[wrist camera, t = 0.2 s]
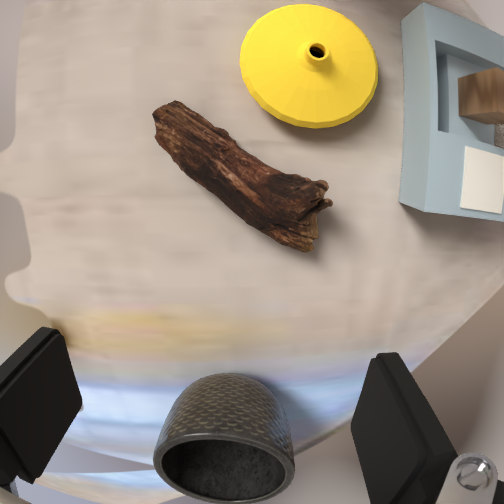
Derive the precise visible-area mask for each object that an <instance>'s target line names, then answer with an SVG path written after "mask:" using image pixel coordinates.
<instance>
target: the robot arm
mask: <svg viewBox="0 0 504 504" xmlns="http://www.w3.org/2000/svg"><path fill="white" fill-rule="evenodd" d="M81 406H82V397H81V394H80V391H79V388H78V385H77V381H76V378H75V375H74V372H73V368H72V365H71V362H70V358H69V354H68V351H67V347H66V343H65V339H64V337H63V336H62V335H61V334H60V332H59V331H58V330H57V329H52V328H47V327H41V328H40V329H39V330H37V331H36V332H35V333H34V334H33V335H32V336H31V337H30V338H29V339H28V340H27V341H26V342H25V343H23V345H21V347H19V348H18V349H17V350H16V351H15V352H14V353H13V354H12V355H11V356H10V357H9V358H8V359H7V360H6V361H5V362H4V363H3V364H2V365H1V366H0V504H31V503H29V502H27V501H25V500H23V499H21V498H19V496H18V492H17V487H16V483H15V477H16V476H17V475H18V477H19V478H20V479H22V480H24V481H26V482H28V483H30V484H33V483H34V481H35V479H36V478H39V477H40V476H41V475H42V473H43V471H44V469H45V468H46V466H47V464H48V462H49V461H50V459H51V457H52V455H53V454H54V452H55V450H56V449H57V447H58V445H59V443H60V442H61V440H62V438H63V437H64V435H65V433H66V432H67V430H68V428H69V427H70V425H71V423H72V422H73V420H74V418H75V417H76V415H77V413H78V412H79V410H80V409H81ZM351 432H352V436H353V440H354V443H355V447H356V450H357V454H358V457H359V461H360V465H361V468H362V472H363V476H364V479H365V483H366V487H367V490H368V495H369V498H370V503H371V504H504V482H502V481H500V480H498V479H497V478H498V472H497V469H496V466H495V465H494V463H493V462H492V461H491V460H490V459H489V458H487V457H486V456H484V455H482V454H479V453H465V454H463V455H460V456H458V455H457V453H456V451H455V449H454V447H453V446H452V444H451V442H450V440H449V438H448V436H447V435H446V433H445V431H444V429H443V427H442V426H441V424H440V422H439V420H438V419H437V417H436V415H435V413H434V411H433V410H432V408H431V406H430V405H429V403H428V401H427V399H426V398H425V396H424V395H423V393H422V392H421V390H420V388H419V387H418V385H417V383H416V382H415V380H414V378H413V377H412V375H411V373H410V372H409V370H408V368H407V367H406V365H405V364H404V362H403V360H402V359H401V357H400V356H399V354H398V353H396V352H392V353H379V354H377V356H376V358H372V359H371V361H370V364H369V367H368V371H367V374H366V378H365V381H364V384H363V388H362V391H361V394H360V397H359V400H358V403H357V406H356V409H355V412H354V415H353V418H352V422H351Z"/></svg>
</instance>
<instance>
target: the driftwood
mask: <svg viewBox="0 0 504 504" xmlns="http://www.w3.org/2000/svg"><path fill="white" fill-rule="evenodd" d="M152 115H153V118H154V120H155V126H156V135H155V139H156V140H157V142H158V144H159V145H160V146H161V147H162V148H163V149H164V150H165V151H167V152H168V153H169V154H170V155H171V157H172V159H173V161H174V162H175V163H177V164H178V166H179V167H180V169H181V170H182V171H184V172H185V173H186V175H187V176H189V177H190V178H192V179H193V180H194V181H196V182H197V183H199V184H200V185H202V186H203V187H205V188H206V189H207V190H208V191H210V192H212V193H213V194H215V195H216V196H217V197H218V198H219V199H220V200H222V201H223V202H224V203H225V204H226V205H227V206H228V207H229V208H230V209H231V210H232V211H233V212H234V213H236V214H237V215H238V216H239V217H241V218H242V219H243V220H244V221H245V222H246V223H247V224H249V225H251V226H253V227H254V228H256V229H258V230H259V231H261V232H263V233H264V234H266V235H268V236H270V237H271V238H273V239H274V240H276V241H277V242H279V243H280V244H283V245H286V246H290V247H293V248H295V249H298V250H300V251H302V252H308V251H312V250H313V245H312V242H313V240H314V239H317V238H318V224H317V217H316V213H319V212H320V211H321V210H322V209H325V208H327V207H330V206H332V205H333V201H332V200H331V199H323V198H324V194H325V192H326V191H327V190H328V188H329V186H328V183H327V182H326V181H324V180H319V181H311V180H310V179H309V178H304V177H301V176H300V175H297V174H285V173H282V172H280V171H279V170H276V169H274V168H272V167H270V166H268V165H266V164H264V163H263V162H262V161H260V160H259V159H257V158H256V157H255V156H253V155H251V154H249V153H247V152H246V151H244V150H243V149H241V148H240V147H239V146H238V145H237V143H236V141H235V140H233V139H232V138H231V137H230V136H229V134H228V132H227V131H226V130H224V129H221V128H217V127H214V126H213V125H212V124H211V123H210V122H209V121H207V120H206V119H205V118H203V117H202V116H201V115H200V114H198V113H196V112H194V111H192V110H191V109H189V108H188V107H186V106H185V105H184V104H183V103H181V102H179V101H175V100H174V101H173V102H171V103H168V104H167V105H163V106H162V107H160V108H158V109H156V110H155V111H154V112H153V114H152Z"/></svg>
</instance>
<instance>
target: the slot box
mask: <svg viewBox="0 0 504 504" xmlns="http://www.w3.org/2000/svg"><path fill="white" fill-rule="evenodd" d="M401 32H402V46H403V65H404V135H403V155H402V170H401V183H400V194H399V202H400V203H403V204H405V205H408V206H411V207H413V208H416V209H418V210H421V211H423V212H431V213H440V214H448V215H457V216H465V217H472V218H480V219H487V220H494V221H501V222H504V149H503V148H500V147H496V146H494V137H495V124H491V125H486V124H483V123H480V122H477V121H474V120H471V119H468V118H464V117H461V116H459V109H458V78H460V77H463V76H467V75H470V74H473V73H477V72H480V71H484V70H487V69H491V68H494V67H496V68H499V69H501V70H503V71H504V37H503V36H501V35H499V34H498V33H495V32H493V31H492V30H490V29H488V28H486V27H483V26H481V25H479V24H477V23H475V22H473V21H470V20H468V19H466V18H464V17H461V16H459V15H456V14H454V13H451V12H449V11H446V10H444V9H441V8H438V7H436V6H433V5H430V4H427V3H424V2H422V3H421V4H420V5H419V6H418V7H416V8H415V9H414V10H413V11H412V12H410V13H409V14H408V15H407V16H406V17H405V18H403V19H402V20H401Z"/></svg>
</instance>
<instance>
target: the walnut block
mask: <svg viewBox="0 0 504 504" xmlns="http://www.w3.org/2000/svg"><path fill="white" fill-rule="evenodd" d="M458 109H459V116H461V117H464V118H468V119H471V120H474V121H477V122H480V123H483V124H486V125H491V124H504V71H503V70H501V69H499V68H496V67H494V68H491V69H487V70H484V71H480V72H477V73H473V74H470V75H467V76H463V77H460V78H458Z"/></svg>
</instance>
